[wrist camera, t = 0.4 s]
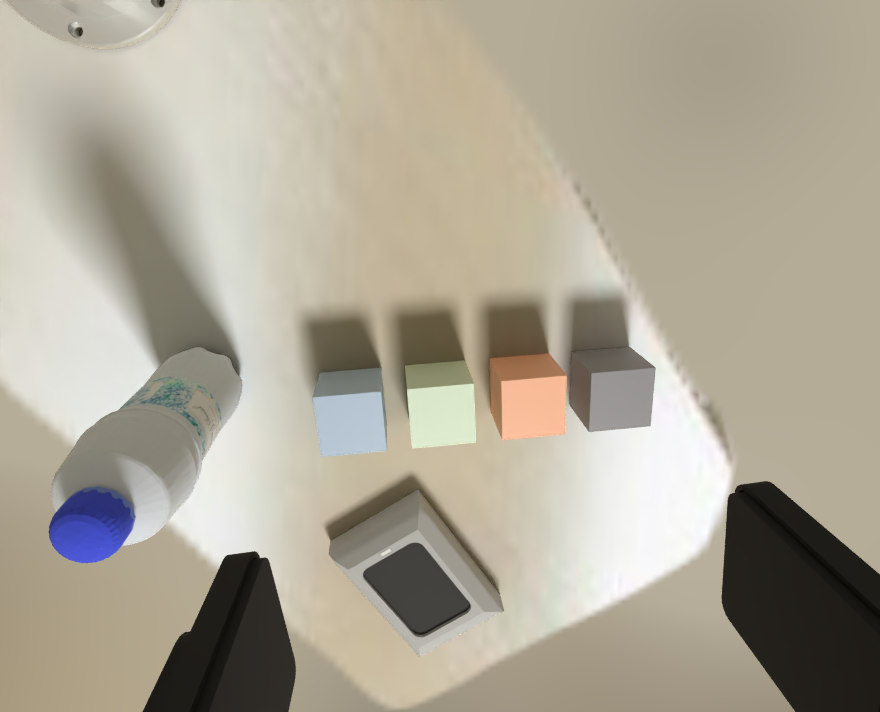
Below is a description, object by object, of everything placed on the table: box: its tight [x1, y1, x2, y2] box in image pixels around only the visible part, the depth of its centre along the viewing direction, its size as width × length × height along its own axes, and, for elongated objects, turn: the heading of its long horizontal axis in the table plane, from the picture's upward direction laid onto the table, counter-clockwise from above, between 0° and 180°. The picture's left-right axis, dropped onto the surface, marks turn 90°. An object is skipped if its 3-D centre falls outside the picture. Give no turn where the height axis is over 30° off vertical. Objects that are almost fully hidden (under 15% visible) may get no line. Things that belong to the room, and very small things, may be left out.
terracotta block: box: [490, 353, 567, 440], centre depth 45 cm, size 5×5×5 cm
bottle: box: [49, 347, 242, 563], centre depth 35 cm, size 7×7×20 cm
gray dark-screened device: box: [329, 489, 504, 657], centre depth 52 cm, size 10×4×15 cm
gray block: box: [570, 347, 656, 432], centre depth 45 cm, size 5×5×5 cm
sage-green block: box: [405, 360, 476, 449], centre depth 45 cm, size 5×5×5 cm
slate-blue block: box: [313, 367, 387, 457], centre depth 44 cm, size 5×5×5 cm
